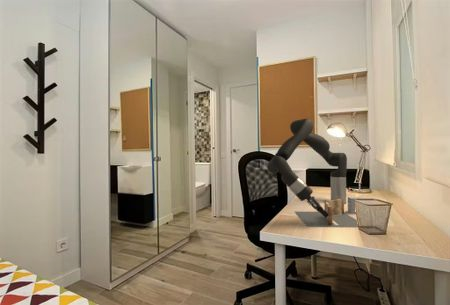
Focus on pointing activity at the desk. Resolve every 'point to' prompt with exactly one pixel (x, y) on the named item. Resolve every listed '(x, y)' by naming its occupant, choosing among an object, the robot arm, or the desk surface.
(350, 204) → the medicine box
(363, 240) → the desk surface
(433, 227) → the desk surface
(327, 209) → the fence swing section
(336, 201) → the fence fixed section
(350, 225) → the board
